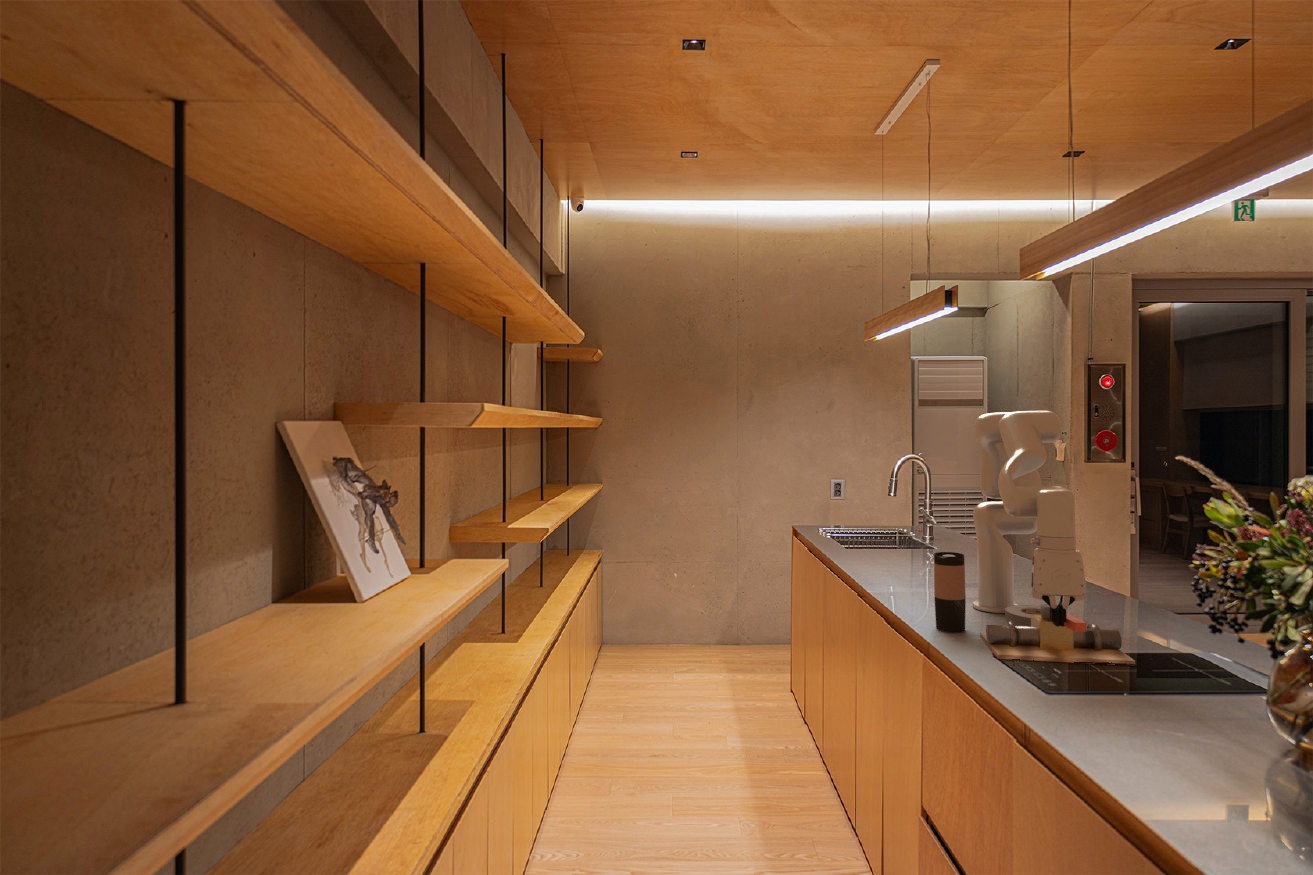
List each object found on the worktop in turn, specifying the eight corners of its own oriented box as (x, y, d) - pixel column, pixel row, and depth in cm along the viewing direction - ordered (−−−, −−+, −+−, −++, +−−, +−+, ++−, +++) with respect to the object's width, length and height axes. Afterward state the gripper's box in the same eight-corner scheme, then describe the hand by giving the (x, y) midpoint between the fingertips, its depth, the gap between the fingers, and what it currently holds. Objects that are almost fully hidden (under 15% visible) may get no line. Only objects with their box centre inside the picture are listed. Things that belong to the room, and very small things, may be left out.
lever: (1037, 614, 167) (1037, 604, 167) (1056, 614, 167) (1056, 604, 167) (1070, 632, 152) (1070, 620, 152) (1091, 632, 152) (1090, 620, 152)
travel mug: (960, 625, 187) (959, 551, 188) (970, 633, 180) (968, 556, 180) (931, 625, 188) (929, 551, 188) (940, 633, 181) (938, 556, 181)
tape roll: (1074, 628, 184) (1074, 609, 184) (1068, 642, 171) (1068, 622, 171) (1010, 620, 193) (1010, 601, 193) (1000, 633, 180) (999, 613, 180)
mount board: (997, 658, 159) (997, 654, 159) (980, 636, 177) (979, 632, 177) (1135, 665, 153) (1135, 660, 153) (1102, 641, 170) (1102, 637, 170)
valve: (992, 651, 165) (991, 619, 165) (985, 642, 171) (984, 612, 172) (1124, 657, 158) (1123, 624, 158) (1111, 648, 165) (1111, 617, 165)
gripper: (1024, 545, 154) (1026, 627, 154) (1099, 546, 150) (1101, 631, 150) (1015, 540, 162) (1017, 619, 161) (1087, 541, 158) (1089, 622, 158)
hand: (1058, 624), depth 156 cm, fingers closed
